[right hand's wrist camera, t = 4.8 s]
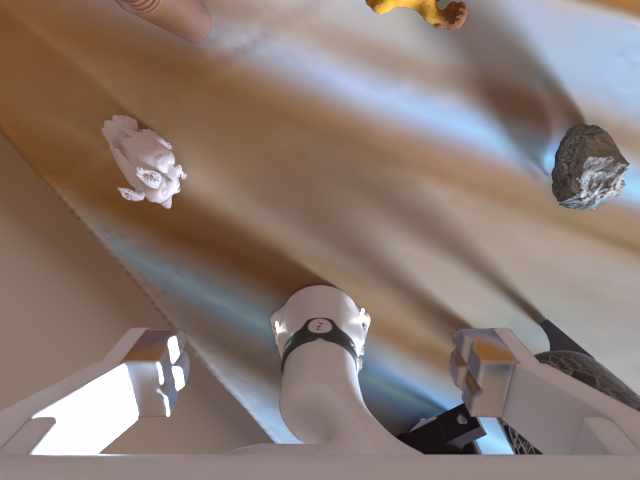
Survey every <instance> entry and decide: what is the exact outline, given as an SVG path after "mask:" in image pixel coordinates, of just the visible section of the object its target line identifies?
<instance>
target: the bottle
mask: <svg viewBox="0 0 640 480" xmlns="http://www.w3.org/2000/svg"><path fill="white" fill-rule="evenodd" d="M115 1H116V2H117V3H118V4H119V5H120V6H121V7H122V8H123V9H125V10H126V11H128V12H130V13H132V14H134V15H136V16H138V17H140V18H142V19H144V20H146V21H148V22H150V23H152V24H154V25H156V26H158V27H160V28H162V29H164V30H166V31H168V32H170V33H172V34H174V35H176V36H178V37H180V38H182V39H184V40H186V41H189V42H199V41H201V40H203V39H204V38H205V37H206V36H207V35H208V33H209V31H210V27H211V19H210V14H209V12H208V10H207V8H206V7H205V6H204V5H203V4H202V3H201V2H200V1H199V0H115Z"/></svg>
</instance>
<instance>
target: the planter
mask: <svg viewBox="0 0 640 480" xmlns="http://www.w3.org/2000/svg"><path fill="white" fill-rule="evenodd" d="M540 326H541V327H542V329H543V330H544V331H545V333H546V335H547V337H548V339H549V342H550V351H547V352H542V353H539V354H535V355H534V357H535V358H536V359H537V360H538V361H539V362H540V363H541V364H548V365H550V366H552V367H553V368H555V369H557V370H559V371H561V372H563V373H565V374H567V375H569V376H571V377H573V378H575V379H577V380H579V381H581V382H583V383H585V384H587V385H588V386H590V387H592V388H594V389H596V390H598V391H600V392H602V393H604V394H606V395H608V396H610V397H612V398H614V399H616V400H618V401H620V402H622V403H623V404H625V405H627V406H629V407H631V408H633V409H635V410H637V411H639V412H640V396H639V395H638V394H637V393H635V392H634V391H633V390H632V389H631V388H629V387H628V386H627V385H626V384H625V383H623V382H622V381H621V380H620V379H619V378H617V377H616V376H615V375H614V374H613V373H611V372H610V371H609V370H608V369H607V368H605V367H604V366H603V365H602V364H600V363H599V362H598V361H596V360H595V359H594V358H593V357H592V356H591V355H590V354H589V353H587V352H586V351H585V350H584V349H583V348H581V347H580V346H579V345H578V344H577V343H575V342H574V341H573V340H572V339H571V338H569V337H568V336H567V335H566V334H565V333H563V332H562V331H561V330H560V329H559V328H557V327H556V326H555V325H554V324H553V323H551V322H550V321H549V320H548V319H547V320H545V321H544V322H542V323H541V324H540ZM496 419H497V421H498V423H499V425H500V427H501V429H502V431H503V433H504V435H505V437H506V439H507V441H508V443H509V445H510V447H511V449H512V451H513V453H514V455H544V454H543V453H541V452H540V451H539V450H538V449H537V448H535V447H534V446H533V445H532V444H531V443H530V442H528V441H527V440H526V439H525V438H524V437H523V436H521V435H520V434H519V433H518V432H517V431H516V430H514V429H513V428H512V427H511V426H510V425H509V424H507V423H506V422H505V421H504V420H503V419H502V418H500V417H496Z"/></svg>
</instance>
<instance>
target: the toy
mask: <svg viewBox="0 0 640 480" xmlns="http://www.w3.org/2000/svg"><path fill="white" fill-rule="evenodd" d="M437 1H439V0H366V4H367V5H368V6H370V7H371V8H372V9H373V11H374V12H376V13H378V14H383V13H386V12H388V11H390V10H391V9H392V8H394V7H408V8H412V9H414V10H416V11H417V12H418V13H420V14H421V15H422V17H423V18H424V19H425V21H427V22H428V23H430V24H432V25H434V26H435V28H437V29H441V28H446V29H449V30H456V29H458V28H460V27H461V26H462V25H463V23H464V21H465V19H466V17H467V14H468V9H467V6H466V5H465V4H464V3H463V2H459V3H456V2H452V3H450V4H449V5H448V6H447V7H446V8H445V9H444V10H440V9H439V8H438V7H437Z"/></svg>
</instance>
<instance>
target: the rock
mask: <svg viewBox="0 0 640 480" xmlns="http://www.w3.org/2000/svg"><path fill="white" fill-rule="evenodd" d="M629 164H630V163H628V162H627V161H626V159H625V158H624V157H623V156H622V154H621V153H620V150H619V149H618V147H617V146H616V144H615V142H614V141H613V139H612V137H611V136H610V135H609V134H608V132H606V131H605V130H603V129H602V128H600V127H599V126H596V125H591V126H589V125H585V124H583V125H580V126H575V127H574V128H572V129H569V130H568V131H567V133H566V136H565V137H564V138H563V140H562V141H561V142H560V146H559V149H558V150H557V152H556V155H555V167H554V168H553V171H552V180H553V184H552V188H553V190H552V191H553V194H554V196H555V197H556V198H557V201H558V202H561V203H559V205H561V206H564V207H566V208H574V209H578V210H582V211H583V210H584V211H585V210H588V209H589V210H592V209H598V208H599V207H600V206H601V205H604V204H605V203H606V202H607V201H609V200H610V199H611V198H613V197H617V196H619V195H620V193H621V192H622V191H623V188H624V187H625V186H626V185H625V182H624V180H623V178H624V174H625V171H626V170H627V169H628V166H629Z"/></svg>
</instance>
